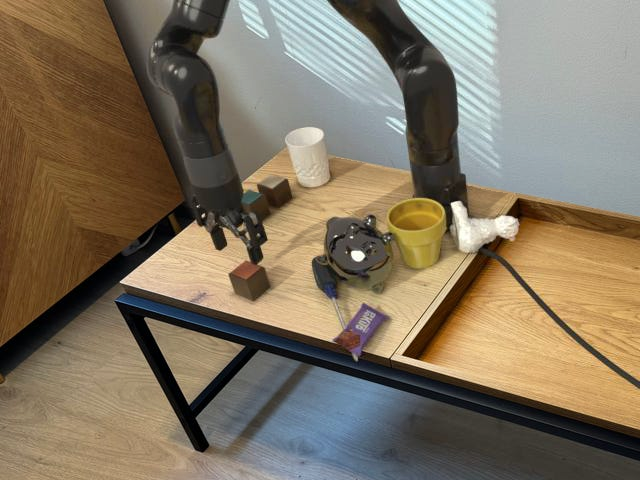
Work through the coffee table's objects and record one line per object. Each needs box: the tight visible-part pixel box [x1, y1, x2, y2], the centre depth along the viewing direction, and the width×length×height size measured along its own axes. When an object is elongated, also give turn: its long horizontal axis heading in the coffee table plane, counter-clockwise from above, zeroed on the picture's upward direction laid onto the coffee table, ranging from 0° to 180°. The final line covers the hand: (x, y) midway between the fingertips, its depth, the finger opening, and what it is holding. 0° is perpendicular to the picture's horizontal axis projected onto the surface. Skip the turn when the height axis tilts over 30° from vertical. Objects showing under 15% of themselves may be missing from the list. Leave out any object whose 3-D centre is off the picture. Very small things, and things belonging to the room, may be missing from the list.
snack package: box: [331, 302, 389, 357], centre depth 131 cm, size 12×2×5 cm
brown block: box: [256, 173, 294, 210], centre depth 163 cm, size 4×4×5 cm
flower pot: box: [386, 197, 447, 269], centre depth 144 cm, size 10×10×10 cm
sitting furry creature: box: [449, 201, 520, 254], centre depth 147 cm, size 10×9×12 cm
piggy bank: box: [315, 213, 396, 295], centre depth 139 cm, size 11×15×12 cm
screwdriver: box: [311, 256, 359, 362], centre depth 136 cm, size 26×4×4 cm
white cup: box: [284, 126, 331, 188], centre depth 166 cm, size 8×8×10 cm
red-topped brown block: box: [228, 259, 271, 302], centre depth 142 cm, size 4×4×5 cm
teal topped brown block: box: [241, 189, 272, 221], centre depth 159 cm, size 4×4×5 cm
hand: (239, 254), depth 138 cm, fingers open, 8 cm apart
